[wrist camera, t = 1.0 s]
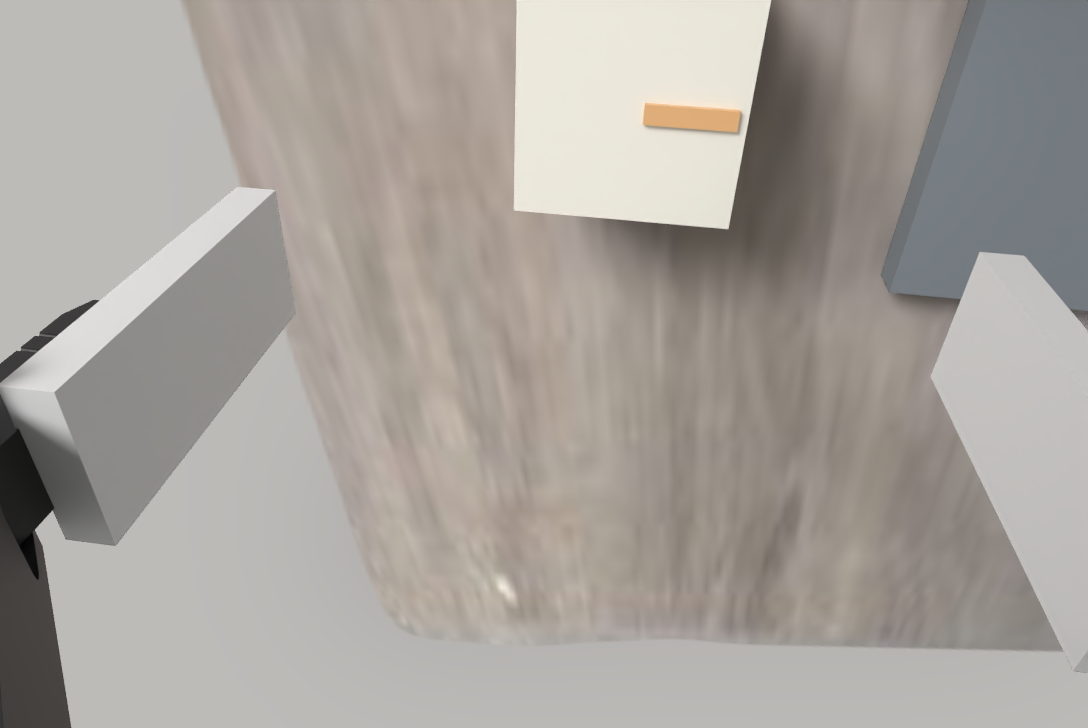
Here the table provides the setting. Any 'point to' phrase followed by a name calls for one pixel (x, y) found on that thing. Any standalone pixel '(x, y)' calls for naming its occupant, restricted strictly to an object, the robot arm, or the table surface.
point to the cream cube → (634, 107)
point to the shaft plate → (1003, 155)
